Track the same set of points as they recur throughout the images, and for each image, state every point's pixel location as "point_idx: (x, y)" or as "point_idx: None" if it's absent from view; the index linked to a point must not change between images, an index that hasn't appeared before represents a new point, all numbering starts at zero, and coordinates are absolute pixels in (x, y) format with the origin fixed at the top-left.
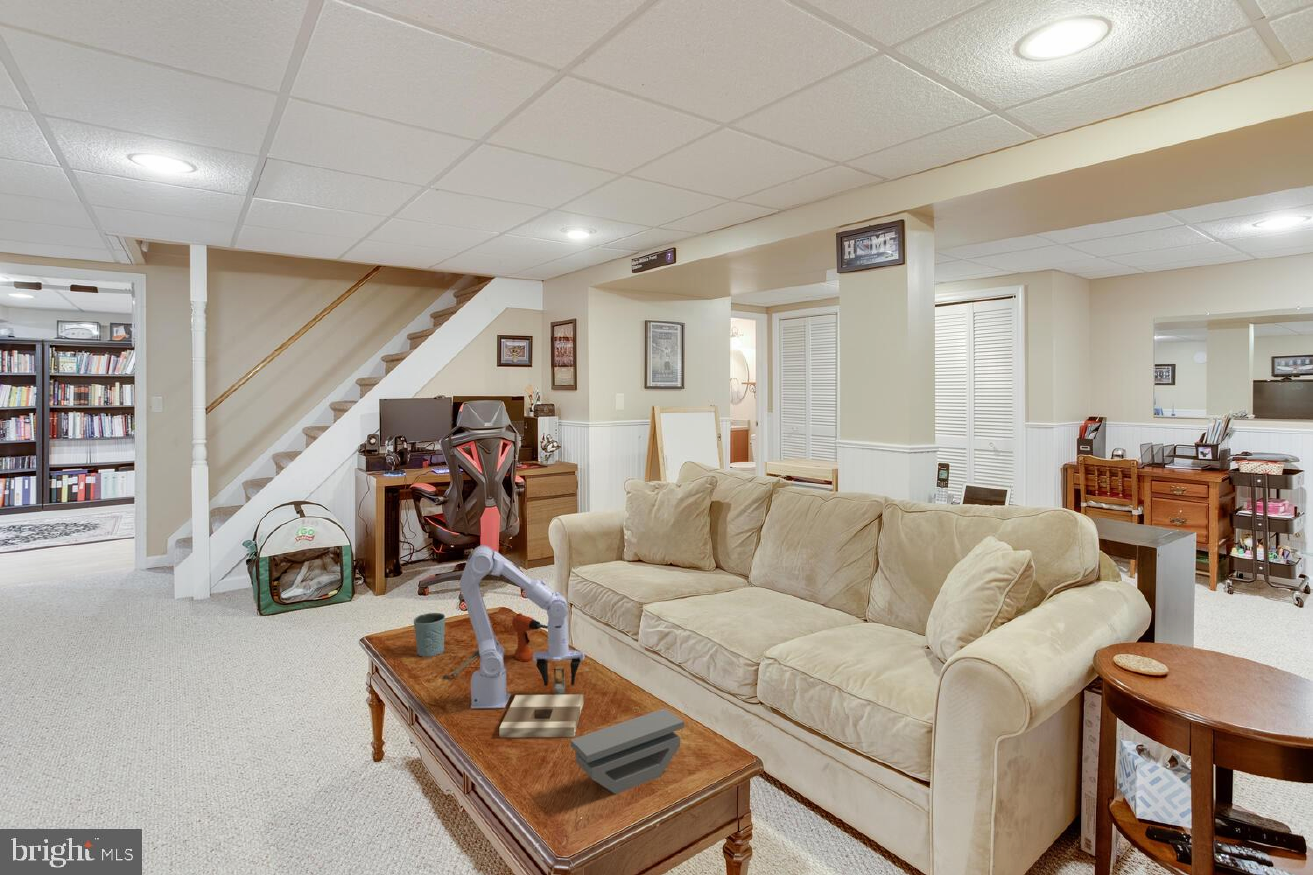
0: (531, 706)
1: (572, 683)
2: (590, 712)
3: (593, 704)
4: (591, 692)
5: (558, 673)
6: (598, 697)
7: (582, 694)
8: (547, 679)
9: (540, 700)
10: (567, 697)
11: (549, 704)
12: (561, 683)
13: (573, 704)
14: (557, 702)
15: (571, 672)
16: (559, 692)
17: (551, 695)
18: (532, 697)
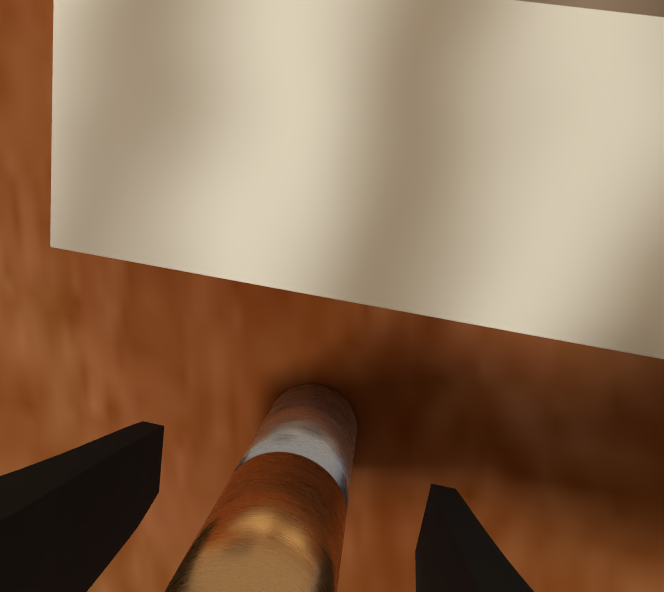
0: (644, 28)
1: (137, 429)
2: (39, 49)
3: (30, 199)
4: (65, 409)
5: (249, 556)
6: (5, 314)
7: (59, 247)
8: (428, 568)
9: (515, 181)
10: (205, 204)
11: (407, 51)
12: (258, 453)
13: (130, 12)
14: (312, 94)
15: (18, 506)
16: (305, 402)
17: (381, 287)
18: (610, 280)
